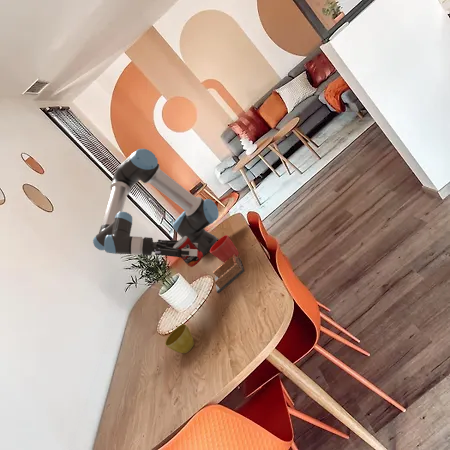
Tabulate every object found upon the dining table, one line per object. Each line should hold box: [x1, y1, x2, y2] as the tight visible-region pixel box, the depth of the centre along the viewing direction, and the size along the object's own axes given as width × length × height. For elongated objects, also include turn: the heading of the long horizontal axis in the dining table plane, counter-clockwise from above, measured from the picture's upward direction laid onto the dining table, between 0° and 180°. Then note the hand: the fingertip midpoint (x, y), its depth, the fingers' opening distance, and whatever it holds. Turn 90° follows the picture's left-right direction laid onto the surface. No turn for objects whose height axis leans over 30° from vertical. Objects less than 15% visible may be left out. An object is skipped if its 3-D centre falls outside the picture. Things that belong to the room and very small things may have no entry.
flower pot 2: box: [209, 234, 240, 263], centre depth 224 cm, size 11×11×10 cm
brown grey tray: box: [212, 255, 245, 294], centre depth 210 cm, size 16×14×4 cm
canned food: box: [173, 236, 204, 268], centre depth 210 cm, size 8×8×11 cm
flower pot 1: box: [164, 323, 195, 354], centre depth 180 cm, size 10×10×7 cm
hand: (197, 249), depth 210 cm, fingers closed on canned food, 8 cm apart
